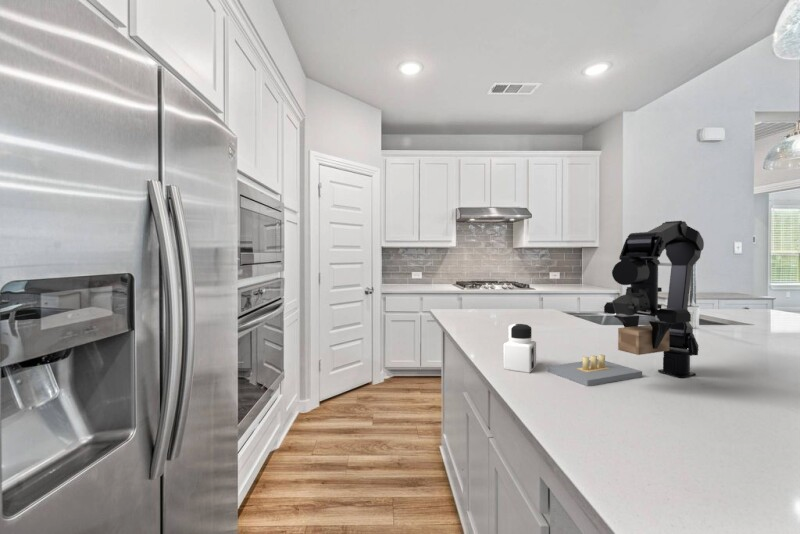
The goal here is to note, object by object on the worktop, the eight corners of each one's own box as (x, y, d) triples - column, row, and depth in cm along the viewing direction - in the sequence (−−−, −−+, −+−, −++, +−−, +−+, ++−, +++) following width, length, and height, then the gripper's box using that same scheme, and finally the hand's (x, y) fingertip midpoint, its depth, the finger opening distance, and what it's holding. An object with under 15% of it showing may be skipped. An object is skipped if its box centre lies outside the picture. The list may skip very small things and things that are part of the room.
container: (536, 366, 117) (536, 323, 117) (529, 373, 111) (529, 327, 110) (510, 363, 121) (510, 321, 121) (503, 369, 115) (502, 325, 114)
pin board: (599, 363, 120) (599, 347, 119) (642, 376, 107) (642, 358, 106) (547, 371, 112) (547, 354, 112) (587, 386, 99) (587, 366, 99)
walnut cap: (648, 346, 101) (648, 324, 101) (669, 350, 96) (669, 328, 96) (618, 350, 97) (618, 328, 97) (638, 354, 92) (638, 331, 92)
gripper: (588, 282, 102) (588, 341, 102) (659, 287, 84) (658, 358, 85) (619, 280, 106) (619, 338, 106) (692, 285, 89) (692, 353, 89)
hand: (643, 346), depth 96 cm, fingers closed on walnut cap, 5 cm apart
